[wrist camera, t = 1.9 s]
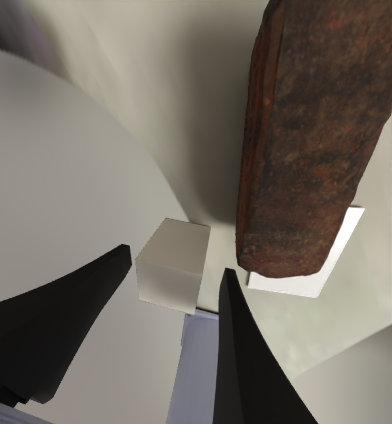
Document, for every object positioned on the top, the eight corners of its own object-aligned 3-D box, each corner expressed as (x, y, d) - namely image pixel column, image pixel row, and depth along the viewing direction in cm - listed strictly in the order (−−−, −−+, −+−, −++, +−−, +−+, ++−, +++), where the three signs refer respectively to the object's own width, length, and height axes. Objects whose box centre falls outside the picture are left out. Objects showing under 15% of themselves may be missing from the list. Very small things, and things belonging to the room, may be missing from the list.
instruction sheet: (315, 295, 14) (317, 298, 14) (247, 286, 15) (247, 288, 15) (362, 207, 10) (365, 208, 10) (264, 202, 11) (265, 203, 11)
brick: (247, 61, 8) (268, -27, 4) (336, 49, 7) (492, -80, 3) (233, 234, 12) (235, 283, 8) (286, 238, 12) (319, 294, 7)
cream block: (204, 261, 15) (194, 314, 10) (164, 252, 15) (139, 300, 11) (211, 226, 13) (202, 275, 8) (165, 217, 13) (135, 259, 9)
